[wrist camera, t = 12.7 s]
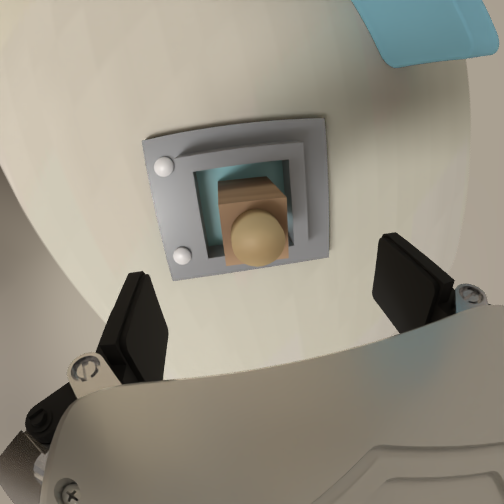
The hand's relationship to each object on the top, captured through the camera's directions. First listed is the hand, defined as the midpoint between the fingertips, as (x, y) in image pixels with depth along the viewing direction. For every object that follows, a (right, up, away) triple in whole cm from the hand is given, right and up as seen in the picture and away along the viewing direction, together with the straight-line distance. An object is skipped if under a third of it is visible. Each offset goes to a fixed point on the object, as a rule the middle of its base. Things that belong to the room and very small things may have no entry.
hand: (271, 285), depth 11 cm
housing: (-2, +6, +13) cm, 15 cm away
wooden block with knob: (-1, +5, +12) cm, 14 cm away
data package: (+11, +24, +7) cm, 28 cm away
